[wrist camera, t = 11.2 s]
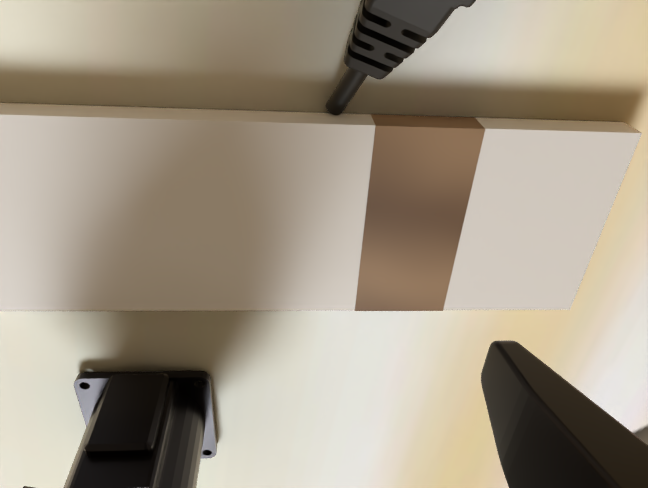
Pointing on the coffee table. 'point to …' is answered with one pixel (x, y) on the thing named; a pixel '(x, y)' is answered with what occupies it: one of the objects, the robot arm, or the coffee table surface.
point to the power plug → (387, 40)
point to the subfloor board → (298, 209)
